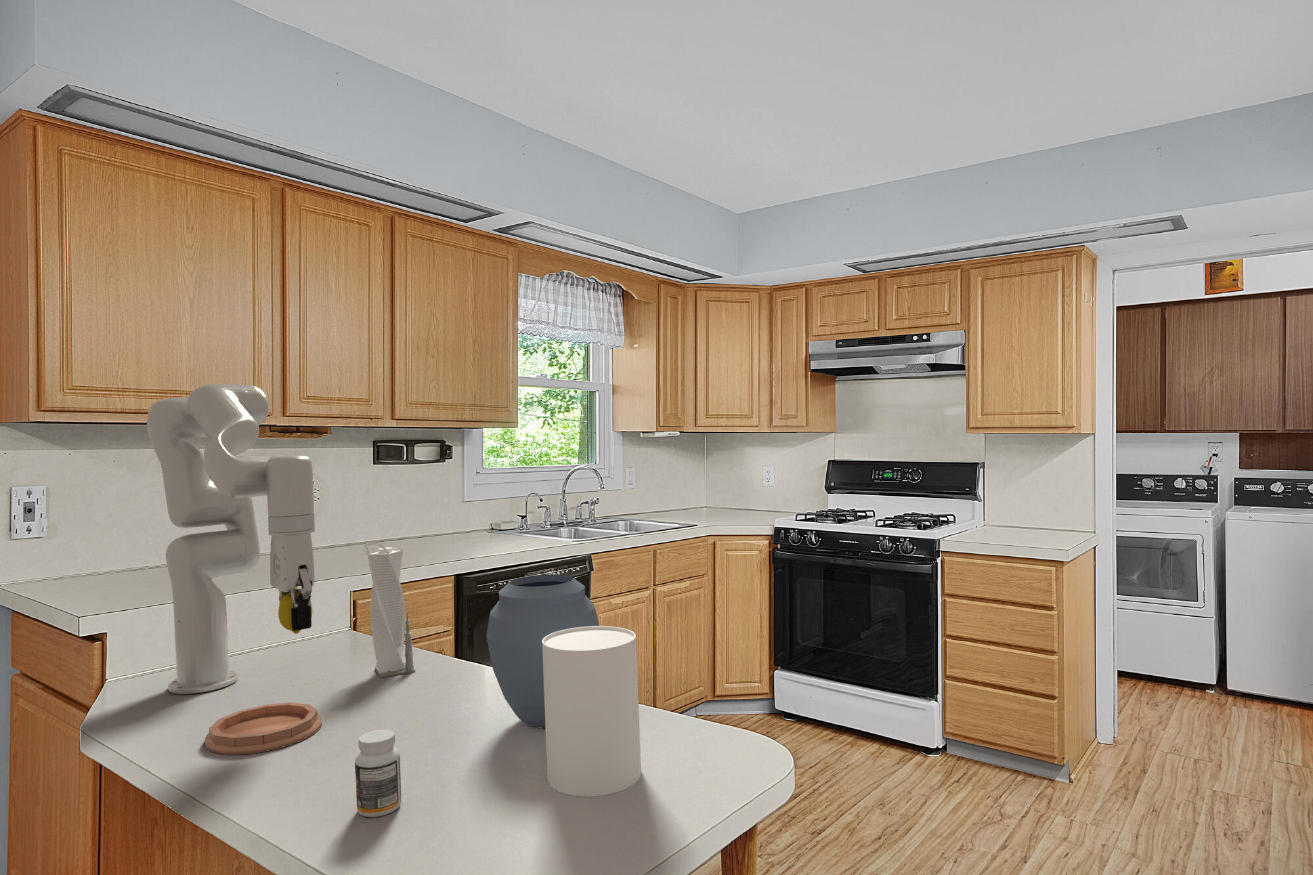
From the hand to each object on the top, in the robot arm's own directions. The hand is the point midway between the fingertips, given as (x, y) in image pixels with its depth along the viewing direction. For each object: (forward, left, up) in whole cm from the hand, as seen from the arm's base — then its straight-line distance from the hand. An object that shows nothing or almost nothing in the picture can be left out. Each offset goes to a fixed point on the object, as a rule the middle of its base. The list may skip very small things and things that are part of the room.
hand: (295, 625), depth 143 cm
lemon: (0, 0, -2) cm, 2 cm away
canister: (+56, +25, -17) cm, 63 cm away
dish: (+2, -6, -17) cm, 18 cm away
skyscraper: (-18, +24, -17) cm, 35 cm away
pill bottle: (+44, -2, -17) cm, 47 cm away
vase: (+32, +32, -17) cm, 48 cm away
